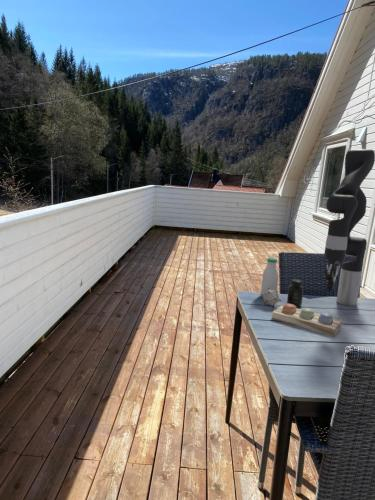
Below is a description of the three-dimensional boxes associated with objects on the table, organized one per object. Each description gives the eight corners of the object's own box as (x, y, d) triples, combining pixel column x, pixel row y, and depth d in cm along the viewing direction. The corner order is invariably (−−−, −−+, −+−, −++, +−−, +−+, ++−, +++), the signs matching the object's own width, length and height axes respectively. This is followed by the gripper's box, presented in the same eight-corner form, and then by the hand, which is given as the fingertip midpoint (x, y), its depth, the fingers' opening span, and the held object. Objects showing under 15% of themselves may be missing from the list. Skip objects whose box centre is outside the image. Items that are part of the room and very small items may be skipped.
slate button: (321, 319, 139) (322, 311, 139) (332, 322, 136) (333, 314, 136) (317, 322, 135) (318, 314, 135) (329, 325, 133) (331, 317, 132)
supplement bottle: (303, 304, 164) (306, 280, 161) (299, 308, 158) (302, 283, 156) (288, 301, 167) (291, 277, 165) (284, 304, 161) (287, 280, 159)
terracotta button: (285, 309, 148) (286, 302, 147) (296, 312, 145) (296, 305, 144) (281, 312, 144) (282, 305, 143) (292, 315, 141) (293, 308, 141)
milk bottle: (276, 300, 168) (280, 260, 164) (260, 298, 169) (264, 259, 165) (275, 295, 175) (279, 257, 171) (260, 293, 176) (264, 256, 173)
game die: (273, 313, 160) (288, 298, 157) (265, 310, 154) (280, 295, 151) (261, 299, 166) (276, 285, 163) (253, 296, 159) (268, 281, 156)
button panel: (282, 311, 153) (282, 304, 152) (341, 326, 138) (342, 319, 138) (271, 318, 143) (272, 311, 142) (334, 336, 129) (335, 328, 128)
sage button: (302, 314, 143) (303, 307, 143) (313, 317, 141) (314, 309, 140) (299, 317, 140) (300, 309, 139) (310, 320, 137) (311, 312, 137)
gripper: (329, 244, 138) (324, 285, 141) (321, 247, 127) (315, 291, 130) (349, 246, 133) (343, 289, 137) (342, 250, 123) (335, 296, 126)
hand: (329, 290), depth 133 cm, fingers closed
